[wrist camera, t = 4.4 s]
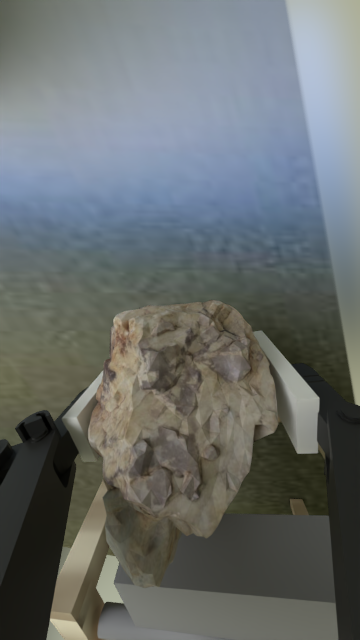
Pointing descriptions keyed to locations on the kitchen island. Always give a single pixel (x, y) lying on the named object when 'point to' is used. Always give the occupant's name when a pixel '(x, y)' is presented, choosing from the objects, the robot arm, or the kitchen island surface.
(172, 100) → the kitchen island surface
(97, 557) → the frame
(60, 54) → the kitchen island surface
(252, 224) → the kitchen island surface
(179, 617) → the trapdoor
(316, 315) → the kitchen island surface
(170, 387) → the rock
